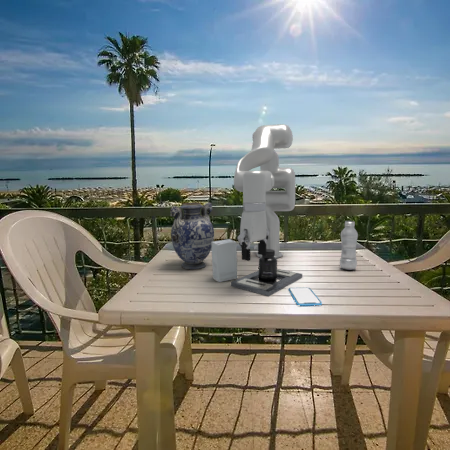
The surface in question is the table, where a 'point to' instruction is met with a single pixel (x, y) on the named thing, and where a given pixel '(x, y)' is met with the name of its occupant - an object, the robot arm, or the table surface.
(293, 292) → the smartphone
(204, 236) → the decorative vase
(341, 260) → the plastic bottle
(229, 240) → the skincare box
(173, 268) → the table surface
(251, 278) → the label panel
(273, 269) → the supplement bottle
